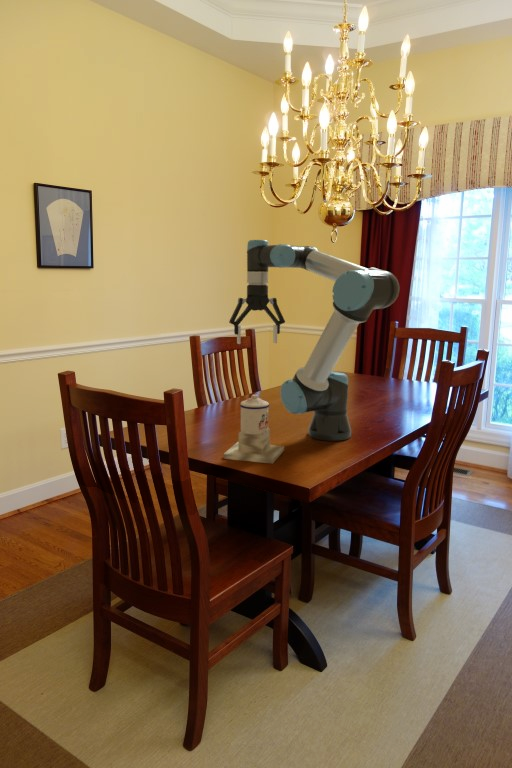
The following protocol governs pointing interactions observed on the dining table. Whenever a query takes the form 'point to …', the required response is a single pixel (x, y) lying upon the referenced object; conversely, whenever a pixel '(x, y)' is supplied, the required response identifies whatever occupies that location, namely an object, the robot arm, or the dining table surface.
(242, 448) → the stone pedestal
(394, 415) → the dining table surface
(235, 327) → the robot arm
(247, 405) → the teacup with lid
